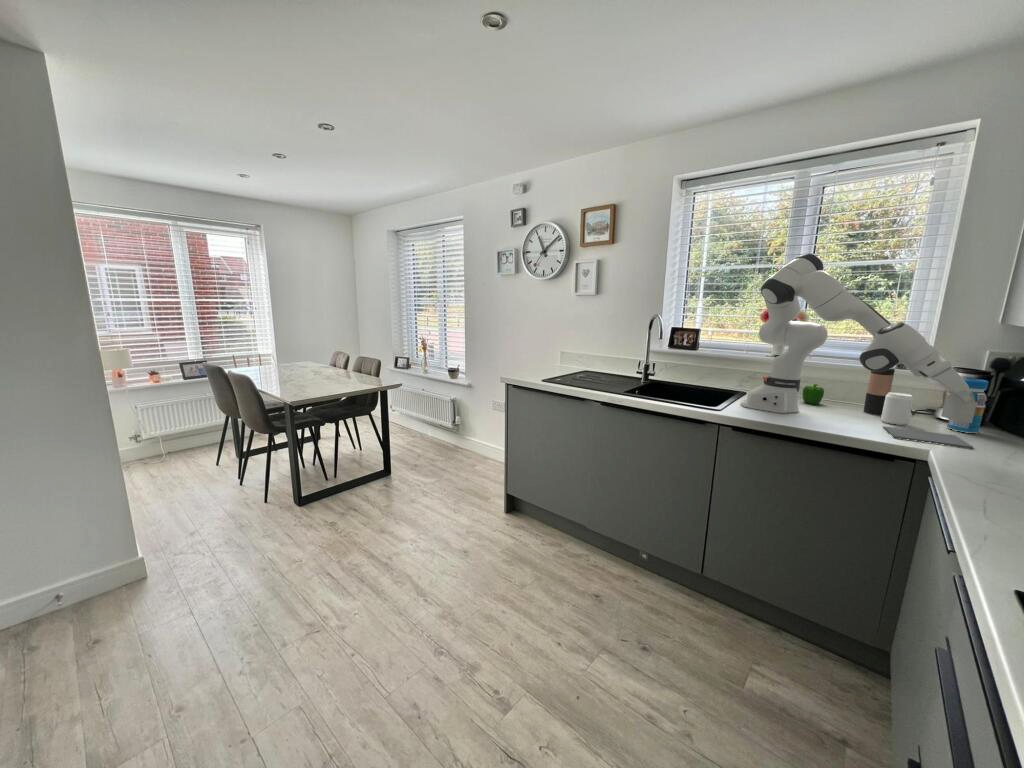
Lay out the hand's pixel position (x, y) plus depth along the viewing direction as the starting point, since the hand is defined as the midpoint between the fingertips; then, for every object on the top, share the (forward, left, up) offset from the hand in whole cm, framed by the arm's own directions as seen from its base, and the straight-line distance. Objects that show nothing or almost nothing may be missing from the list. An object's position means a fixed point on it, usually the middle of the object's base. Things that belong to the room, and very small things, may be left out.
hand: (961, 397), depth 129 cm
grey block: (0, 0, -8) cm, 8 cm away
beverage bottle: (+15, +36, -19) cm, 43 cm away
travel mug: (-8, +51, -19) cm, 55 cm away
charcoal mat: (-1, +16, -18) cm, 24 cm away
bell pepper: (-30, +57, -19) cm, 67 cm away
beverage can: (-5, +35, -19) cm, 40 cm away
